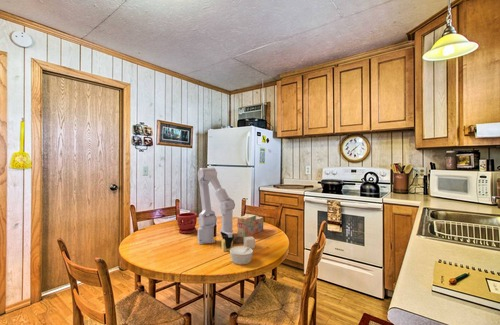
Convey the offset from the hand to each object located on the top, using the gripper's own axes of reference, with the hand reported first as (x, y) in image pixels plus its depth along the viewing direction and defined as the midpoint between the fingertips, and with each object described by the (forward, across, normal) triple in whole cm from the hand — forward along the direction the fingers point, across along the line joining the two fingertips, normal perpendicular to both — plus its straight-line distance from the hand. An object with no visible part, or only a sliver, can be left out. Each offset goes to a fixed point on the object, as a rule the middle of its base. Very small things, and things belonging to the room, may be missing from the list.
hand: (226, 246), depth 135 cm
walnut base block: (+2, -11, +8) cm, 14 cm away
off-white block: (+2, 0, +13) cm, 13 cm away
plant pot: (+2, -40, -18) cm, 44 cm away
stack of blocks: (+2, -24, +22) cm, 33 cm away
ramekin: (+2, +17, +3) cm, 17 cm away
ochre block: (+1, 0, 0) cm, 1 cm away
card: (+1, +2, +6) cm, 7 cm away
